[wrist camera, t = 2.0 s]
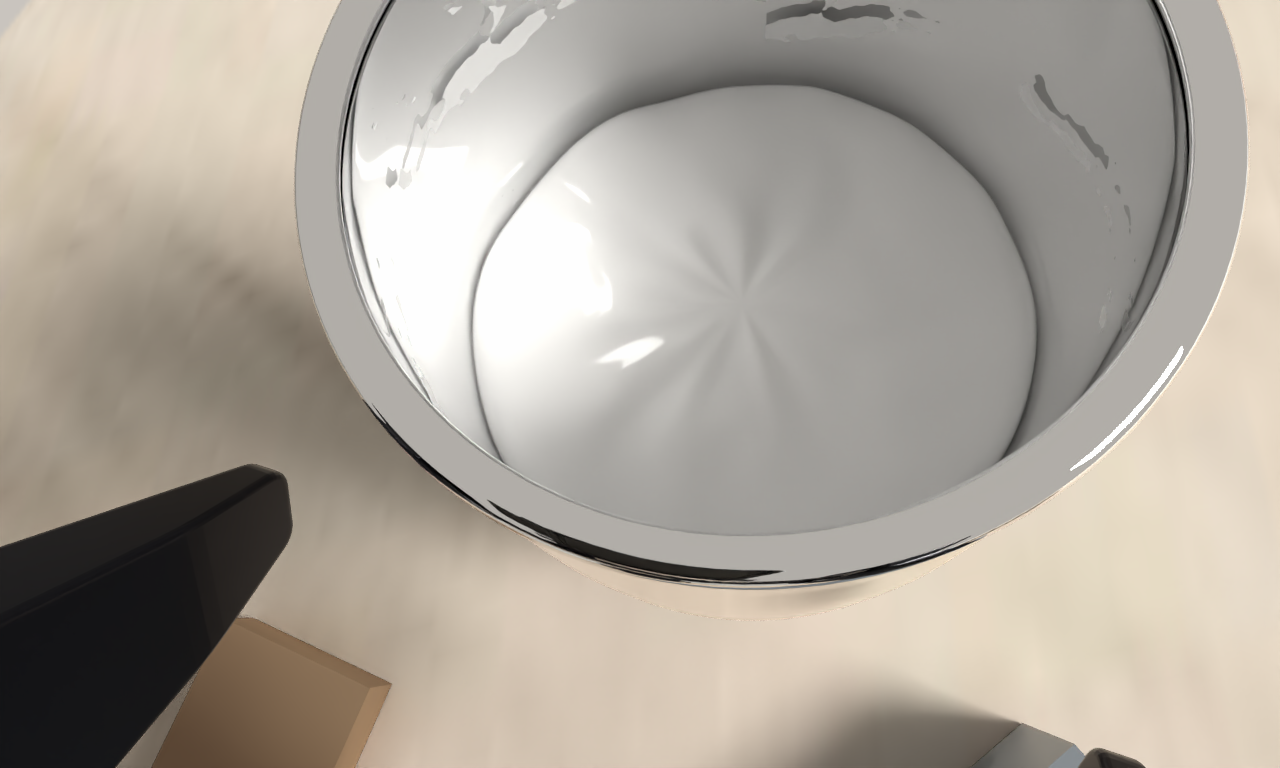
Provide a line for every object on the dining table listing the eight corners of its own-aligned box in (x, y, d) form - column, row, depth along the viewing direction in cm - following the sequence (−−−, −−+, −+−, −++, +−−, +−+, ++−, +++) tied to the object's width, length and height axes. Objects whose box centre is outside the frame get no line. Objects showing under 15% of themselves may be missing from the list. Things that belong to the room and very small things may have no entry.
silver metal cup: (594, 346, 21) (280, -196, 7) (870, 314, 21) (1144, -357, 6) (613, 627, 20) (234, 670, 5) (917, 603, 19) (1459, 574, 4)
